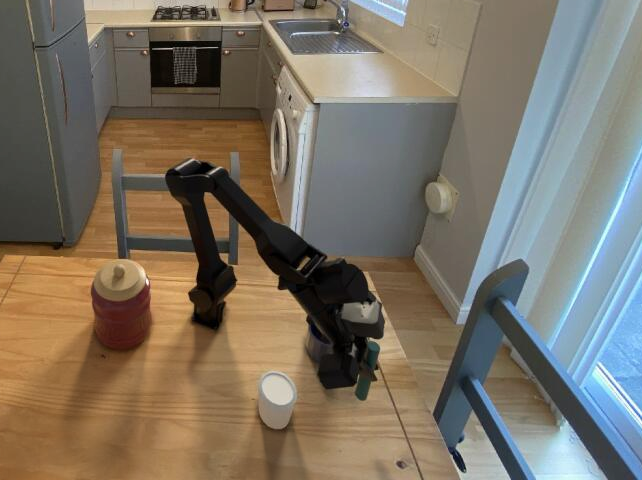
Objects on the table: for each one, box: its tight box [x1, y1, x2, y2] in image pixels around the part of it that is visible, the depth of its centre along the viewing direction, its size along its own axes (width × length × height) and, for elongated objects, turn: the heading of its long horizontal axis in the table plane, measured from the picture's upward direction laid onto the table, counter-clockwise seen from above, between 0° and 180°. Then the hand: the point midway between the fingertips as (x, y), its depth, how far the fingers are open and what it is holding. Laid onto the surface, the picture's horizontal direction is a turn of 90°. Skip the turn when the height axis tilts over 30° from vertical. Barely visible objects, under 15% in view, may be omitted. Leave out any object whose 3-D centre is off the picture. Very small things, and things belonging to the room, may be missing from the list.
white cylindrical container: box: [257, 370, 298, 430], centre depth 77 cm, size 7×7×7 cm
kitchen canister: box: [90, 258, 152, 351], centre depth 93 cm, size 13×13×18 cm
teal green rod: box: [354, 340, 381, 402], centre depth 74 cm, size 2×2×13 cm
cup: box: [304, 324, 332, 364], centre depth 89 cm, size 7×7×6 cm
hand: (375, 375), depth 73 cm, fingers closed on teal green rod, 2 cm apart
